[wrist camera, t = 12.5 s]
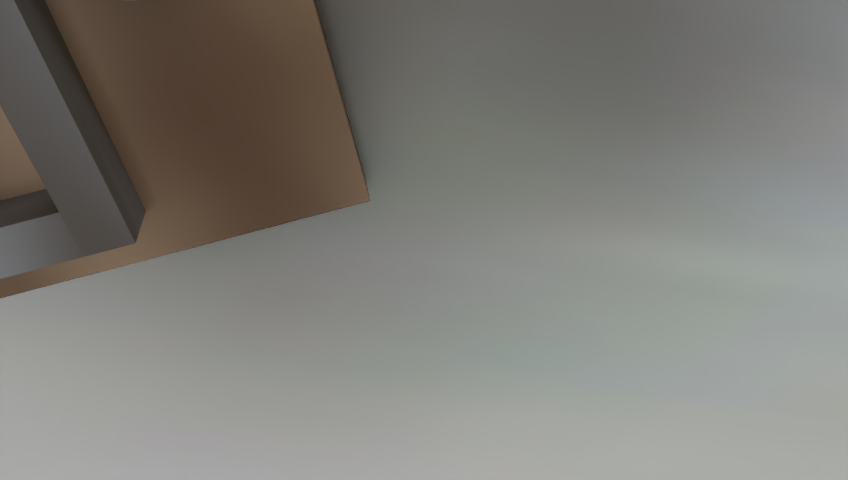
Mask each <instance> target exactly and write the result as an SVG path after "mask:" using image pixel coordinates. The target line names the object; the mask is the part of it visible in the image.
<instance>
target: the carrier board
mask: <svg viewBox="0 0 848 480" xmlns="http://www.w3.org/2000/svg"><path fill="white" fill-rule="evenodd" d="M368 201H370V198H369V193H368V189H367V184H366V180H365V177H364V173H363V169H362V166H361V162H360V159H359V155H358V152H357V148H356V145H355V141H354V138H353V134H352V131H351V127H350V124H349V120H348V117H347V113H346V110H345V106H344V103H343V99H342V95H341V92H340V88H339V85H338V81H337V78H336V74H335V71H334V67H333V64H332V60H331V57H330V53H329V50H328V46H327V43H326V39H325V36H324V32H323V29H322V25H321V21H320V18H319V14H318V11H317V7H316V4H315V0H0V298H3V297H7V296H11V295H14V294H18V293H22V292H26V291H30V290H33V289H37V288H41V287H45V286H49V285H52V284H56V283H60V282H64V281H68V280H71V279H75V278H79V277H83V276H87V275H90V274H94V273H98V272H102V271H106V270H109V269H113V268H117V267H121V266H125V265H128V264H132V263H136V262H140V261H144V260H147V259H151V258H155V257H159V256H163V255H166V254H170V253H174V252H178V251H182V250H185V249H189V248H193V247H197V246H201V245H204V244H208V243H212V242H216V241H220V240H223V239H227V238H231V237H235V236H239V235H242V234H246V233H250V232H254V231H257V230H261V229H265V228H269V227H273V226H276V225H280V224H284V223H288V222H292V221H295V220H299V219H303V218H307V217H311V216H314V215H318V214H322V213H326V212H330V211H333V210H337V209H341V208H345V207H349V206H352V205H356V204H360V203H364V202H368Z"/></svg>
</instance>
